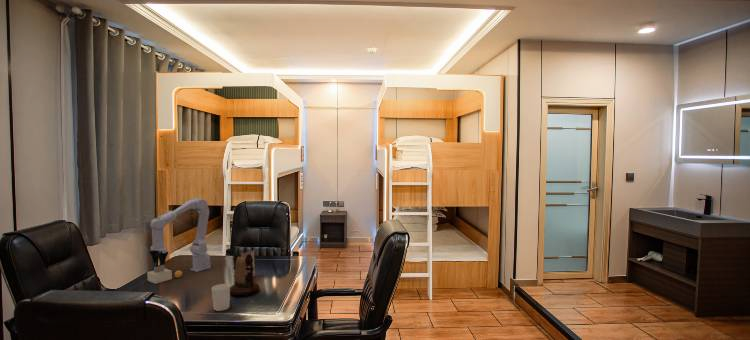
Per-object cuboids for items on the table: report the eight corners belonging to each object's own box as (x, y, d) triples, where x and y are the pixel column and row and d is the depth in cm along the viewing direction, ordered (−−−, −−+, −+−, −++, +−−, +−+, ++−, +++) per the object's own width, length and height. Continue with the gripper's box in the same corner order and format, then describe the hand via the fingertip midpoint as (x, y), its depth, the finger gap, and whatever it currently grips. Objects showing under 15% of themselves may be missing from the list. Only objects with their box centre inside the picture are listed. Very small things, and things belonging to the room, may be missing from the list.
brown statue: (222, 296, 187) (221, 256, 186) (241, 285, 201) (240, 249, 200) (247, 299, 183) (246, 259, 182) (264, 288, 197) (263, 251, 196)
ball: (180, 275, 219) (179, 269, 219) (183, 277, 217) (183, 270, 216) (173, 277, 216) (172, 270, 215) (176, 279, 213) (176, 272, 213)
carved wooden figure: (253, 275, 218) (252, 249, 218) (262, 277, 214) (261, 251, 214) (237, 281, 208) (236, 254, 208) (246, 283, 205) (245, 256, 204)
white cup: (224, 312, 168) (223, 290, 168) (208, 311, 170) (207, 289, 169) (234, 305, 176) (233, 284, 175) (219, 304, 177) (218, 283, 177)
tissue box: (164, 276, 219) (163, 262, 218) (171, 279, 213) (171, 265, 213) (147, 280, 211) (147, 266, 211) (155, 283, 206) (154, 269, 206)
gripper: (144, 239, 212) (145, 263, 213) (156, 243, 204) (157, 267, 204) (157, 237, 218) (158, 260, 219) (170, 240, 210) (171, 264, 210)
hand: (159, 263), depth 212 cm, fingers open, 7 cm apart
